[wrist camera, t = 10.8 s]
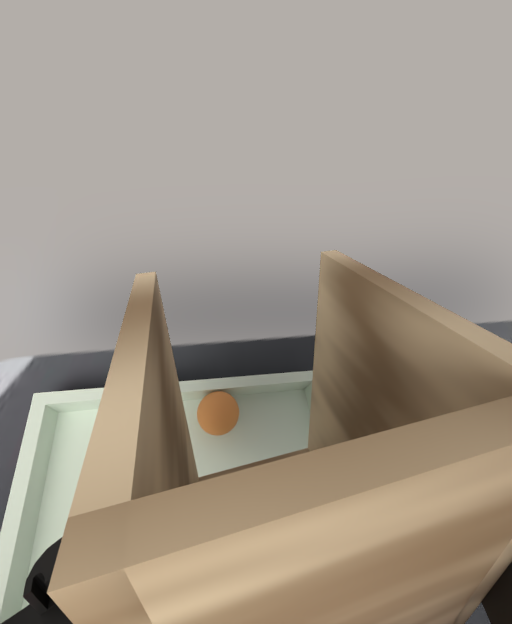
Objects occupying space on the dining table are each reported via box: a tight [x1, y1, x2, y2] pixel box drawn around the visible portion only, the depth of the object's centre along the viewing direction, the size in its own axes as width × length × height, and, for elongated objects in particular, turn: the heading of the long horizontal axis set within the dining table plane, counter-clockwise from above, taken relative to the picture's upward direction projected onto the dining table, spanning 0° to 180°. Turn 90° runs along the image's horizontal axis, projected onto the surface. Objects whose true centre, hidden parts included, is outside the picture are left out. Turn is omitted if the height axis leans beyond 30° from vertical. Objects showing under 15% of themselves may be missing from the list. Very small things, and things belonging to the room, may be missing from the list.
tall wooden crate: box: [47, 250, 512, 624], centre depth 9 cm, size 8×7×12 cm
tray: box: [0, 371, 313, 624], centre depth 19 cm, size 20×13×3 cm, turn 99°
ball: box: [197, 391, 239, 436], centre depth 21 cm, size 3×3×3 cm
